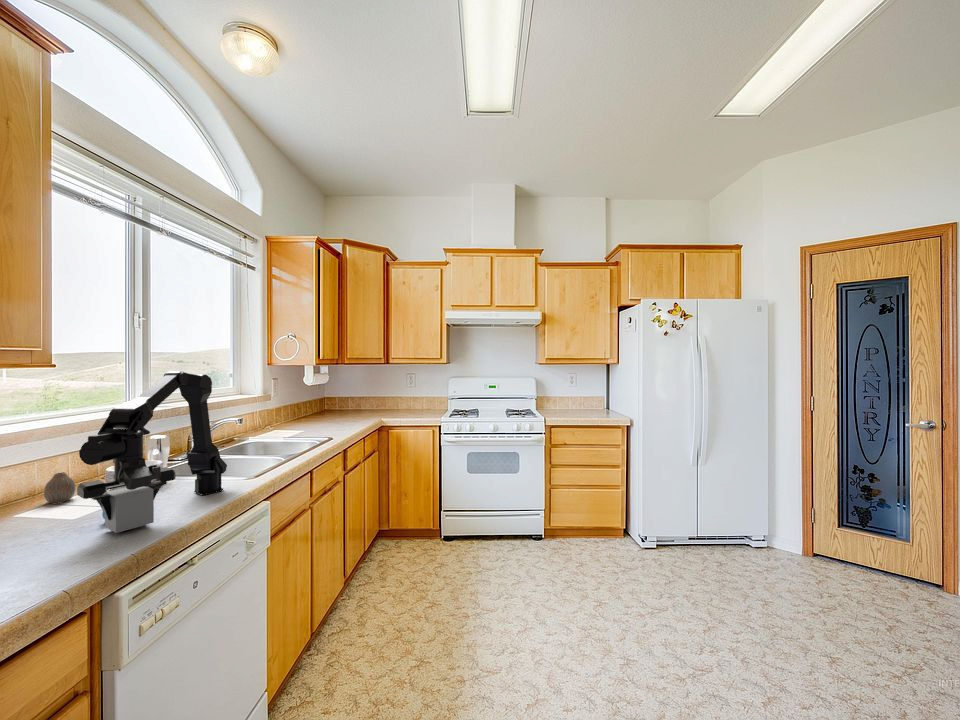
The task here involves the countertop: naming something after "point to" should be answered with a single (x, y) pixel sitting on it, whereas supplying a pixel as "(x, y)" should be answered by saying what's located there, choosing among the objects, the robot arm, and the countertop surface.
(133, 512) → the gray rectangular prism
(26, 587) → the countertop surface
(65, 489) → the brown rounded lump
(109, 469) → the paper bowls
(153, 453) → the beer glass
